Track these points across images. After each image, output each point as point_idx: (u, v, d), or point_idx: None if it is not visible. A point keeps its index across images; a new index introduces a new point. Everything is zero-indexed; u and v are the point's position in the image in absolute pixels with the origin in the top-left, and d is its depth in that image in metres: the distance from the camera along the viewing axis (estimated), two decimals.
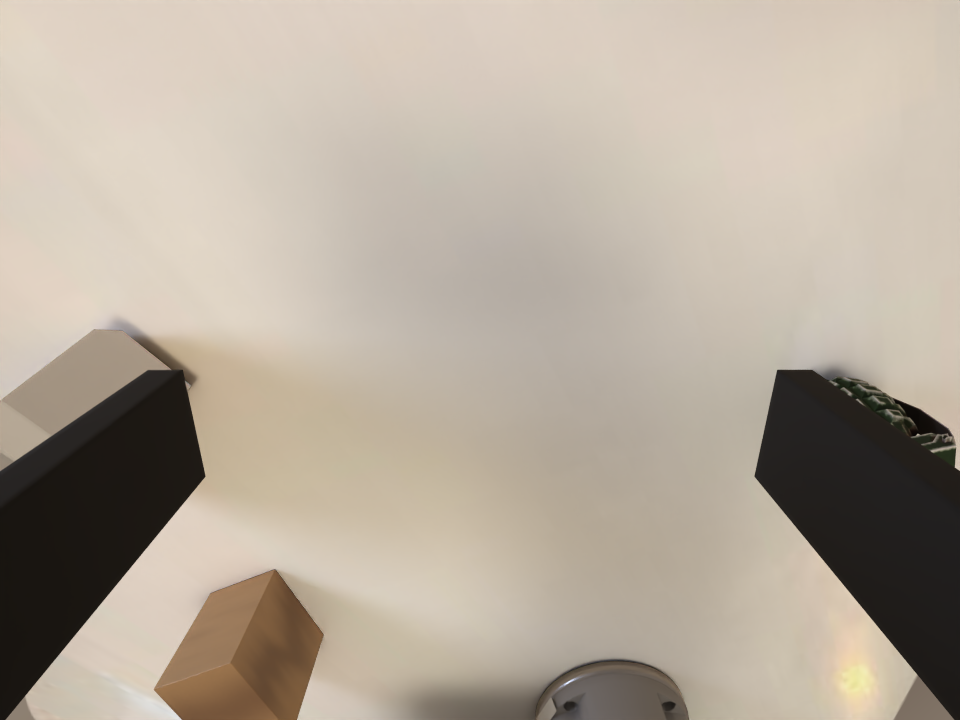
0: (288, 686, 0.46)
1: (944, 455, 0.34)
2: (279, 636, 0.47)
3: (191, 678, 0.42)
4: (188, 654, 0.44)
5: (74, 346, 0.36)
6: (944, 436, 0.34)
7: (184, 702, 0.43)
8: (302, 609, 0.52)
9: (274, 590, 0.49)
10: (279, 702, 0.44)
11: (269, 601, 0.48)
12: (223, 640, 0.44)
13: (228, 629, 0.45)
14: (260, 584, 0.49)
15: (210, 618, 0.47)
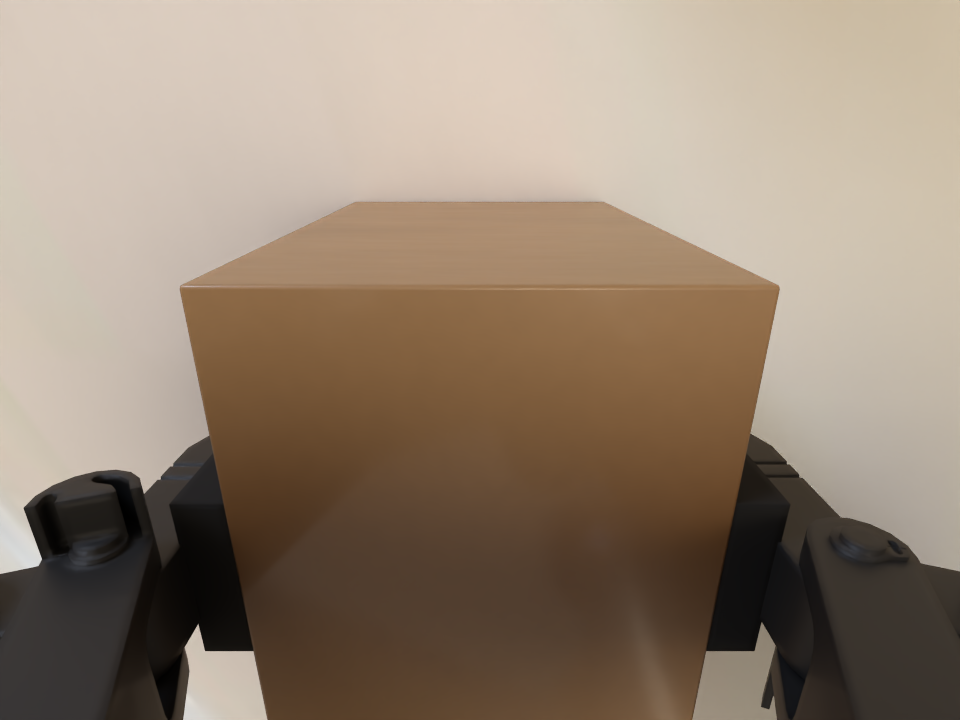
0: None
1: None
2: None
3: (470, 300, 0.06)
4: (370, 247, 0.09)
5: None
6: None
7: (315, 444, 0.07)
8: None
9: None
10: None
11: None
12: (573, 244, 0.09)
13: (563, 235, 0.10)
14: (581, 207, 0.14)
15: (409, 218, 0.12)
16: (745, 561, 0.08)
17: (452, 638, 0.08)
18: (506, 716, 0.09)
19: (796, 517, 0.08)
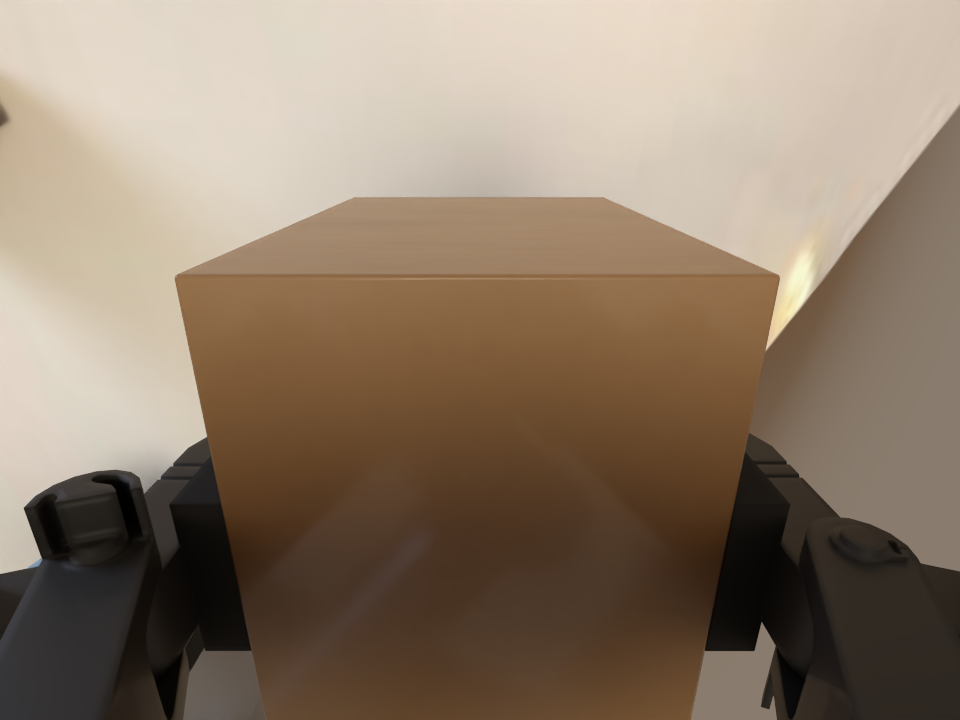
0: None
1: None
2: None
3: (468, 289, 0.06)
4: (368, 239, 0.09)
5: None
6: None
7: (312, 436, 0.07)
8: None
9: None
10: None
11: None
12: (572, 237, 0.09)
13: (563, 227, 0.10)
14: (581, 202, 0.14)
15: (407, 212, 0.12)
16: (745, 561, 0.08)
17: (450, 632, 0.08)
18: (504, 711, 0.09)
19: (796, 517, 0.08)
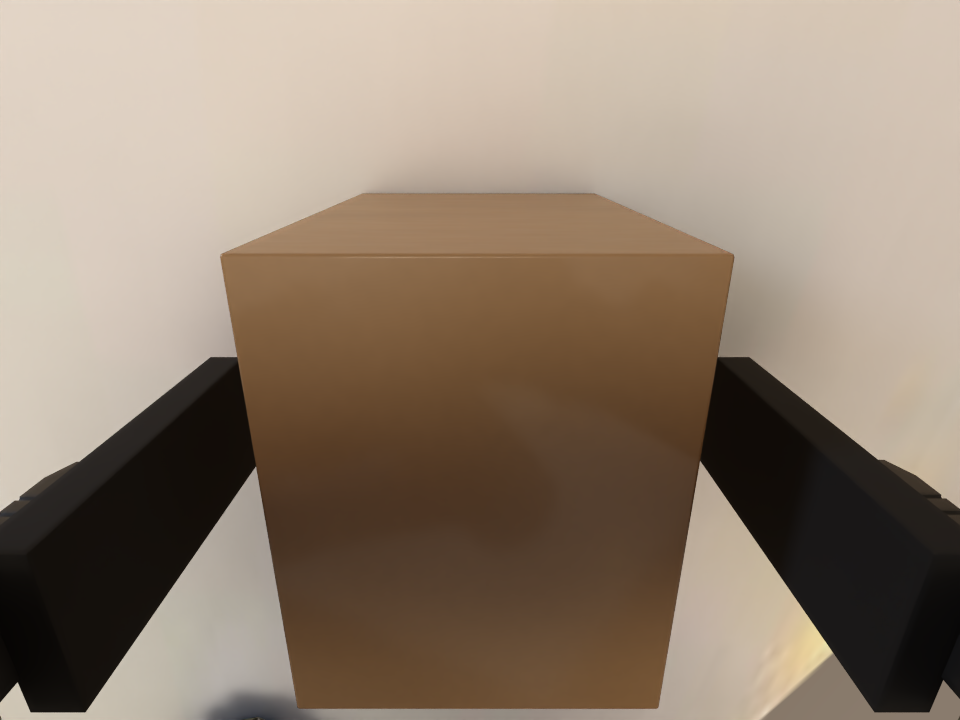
0: None
1: None
2: None
3: (468, 267, 0.07)
4: (380, 227, 0.10)
5: None
6: None
7: (335, 395, 0.08)
8: None
9: None
10: None
11: None
12: (561, 226, 0.10)
13: (554, 219, 0.11)
14: (573, 198, 0.15)
15: (413, 206, 0.13)
16: (935, 616, 0.07)
17: (453, 574, 0.09)
18: (501, 648, 0.10)
19: None
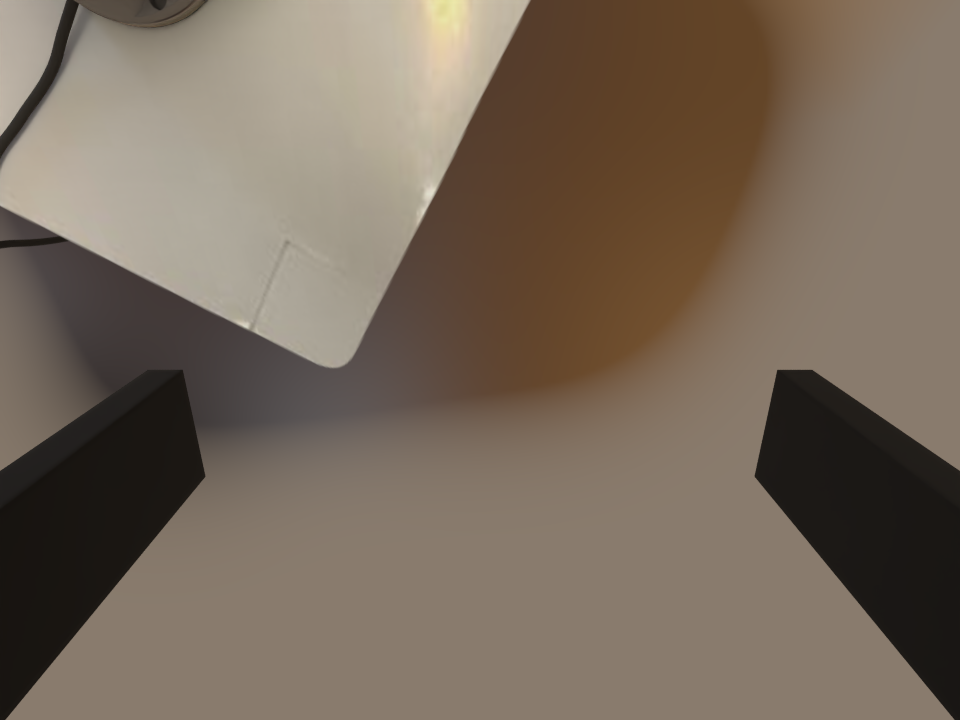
0: None
1: None
2: None
3: None
4: None
5: None
6: None
7: None
8: None
9: None
10: None
11: None
12: None
13: None
14: None
15: None
16: None
17: None
18: None
19: None
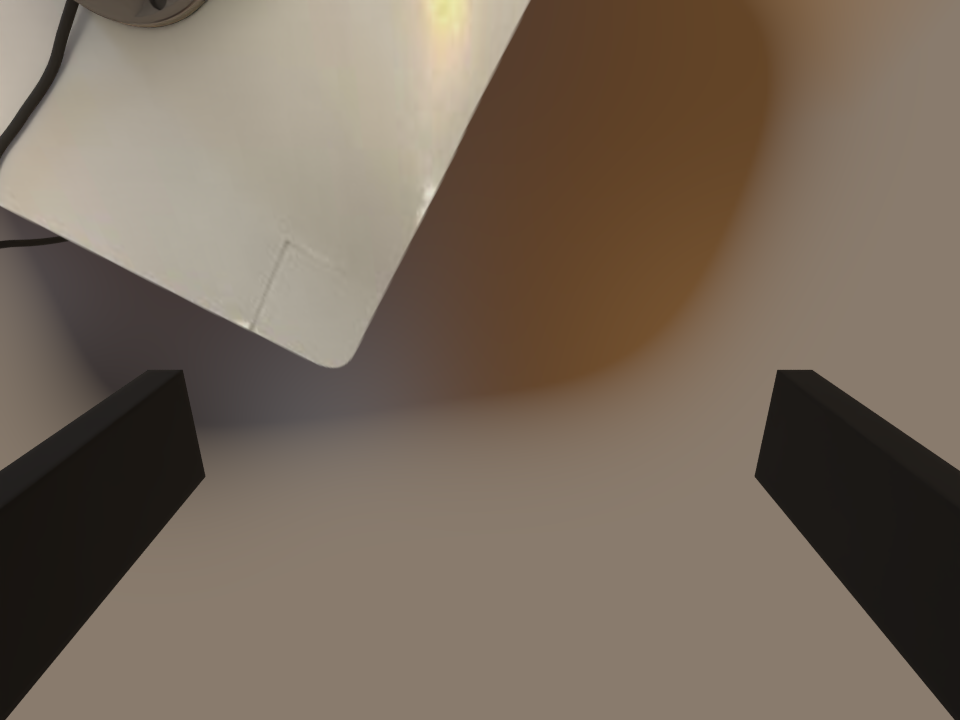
0: None
1: None
2: None
3: None
4: None
5: None
6: None
7: None
8: None
9: None
10: None
11: None
12: None
13: None
14: None
15: None
16: None
17: None
18: None
19: None
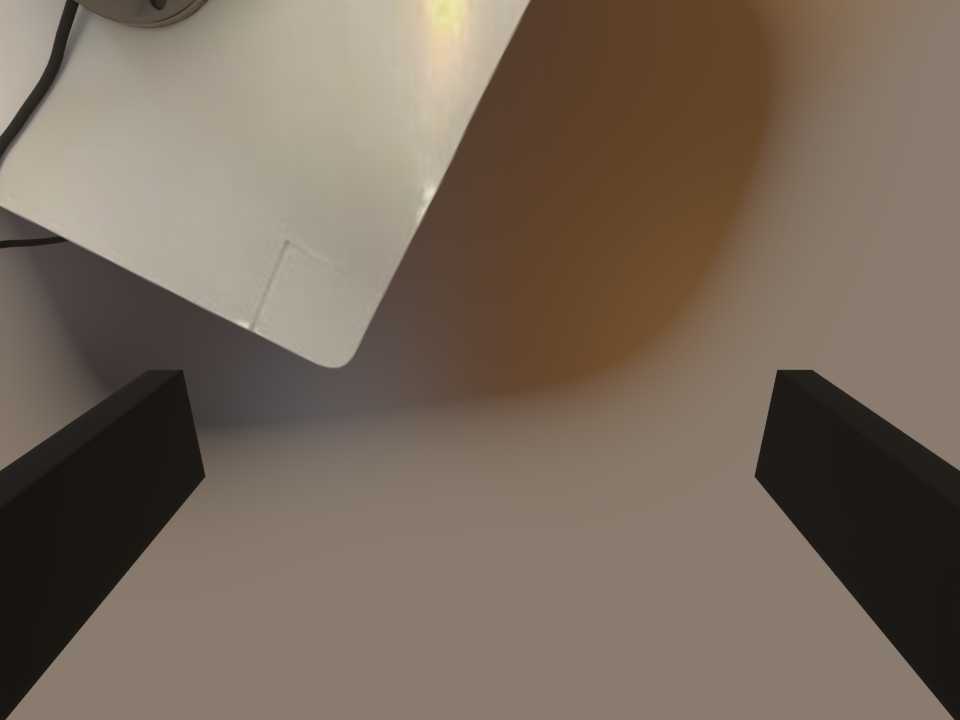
0: None
1: None
2: None
3: None
4: None
5: None
6: None
7: None
8: None
9: None
10: None
11: None
12: None
13: None
14: None
15: None
16: None
17: None
18: None
19: None
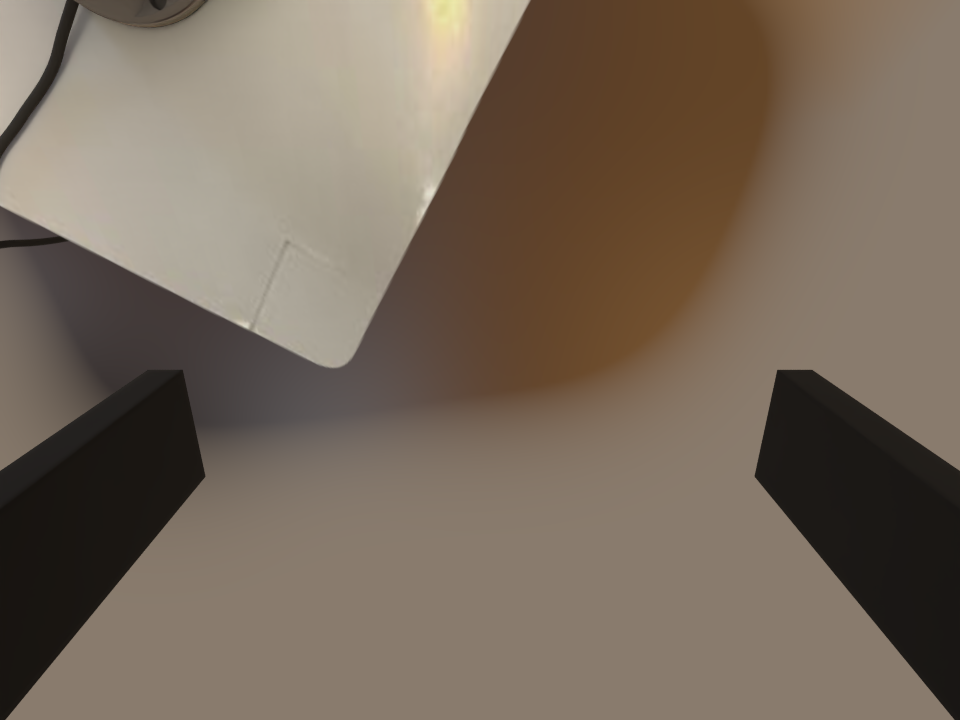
0: None
1: None
2: None
3: None
4: None
5: None
6: None
7: None
8: None
9: None
10: None
11: None
12: None
13: None
14: None
15: None
16: None
17: None
18: None
19: None
